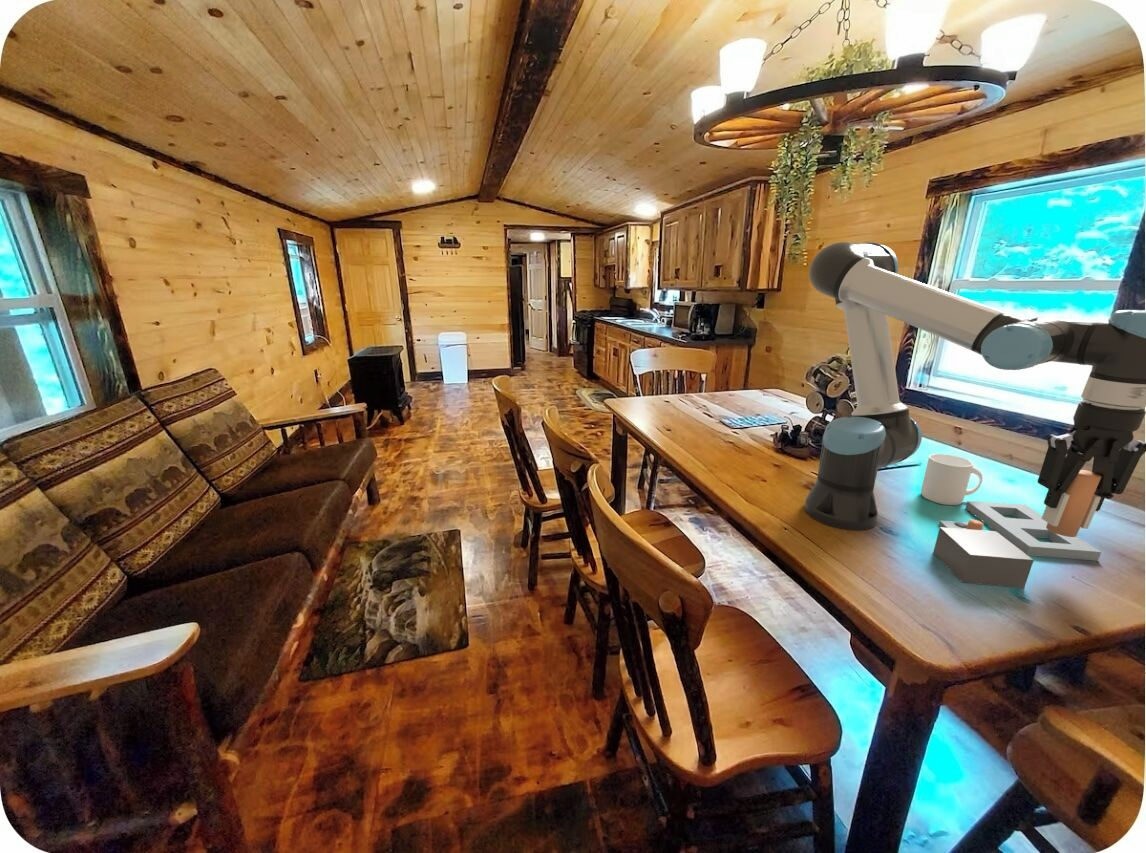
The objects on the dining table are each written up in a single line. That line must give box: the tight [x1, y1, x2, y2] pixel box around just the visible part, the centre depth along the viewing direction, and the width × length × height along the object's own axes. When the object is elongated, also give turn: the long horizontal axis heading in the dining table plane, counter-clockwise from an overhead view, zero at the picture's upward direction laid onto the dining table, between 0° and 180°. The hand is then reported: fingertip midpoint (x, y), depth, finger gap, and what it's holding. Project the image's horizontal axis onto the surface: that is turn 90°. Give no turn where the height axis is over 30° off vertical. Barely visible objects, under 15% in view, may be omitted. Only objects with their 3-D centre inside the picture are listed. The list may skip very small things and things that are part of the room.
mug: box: [920, 453, 983, 506], centre depth 112 cm, size 9×12×11 cm
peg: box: [1046, 469, 1101, 537], centre depth 81 cm, size 4×4×12 cm
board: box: [938, 519, 984, 530], centre depth 97 cm, size 7×7×4 cm
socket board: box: [965, 500, 1102, 562], centre depth 98 cm, size 12×20×2 cm, turn 168°
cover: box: [933, 526, 1035, 589], centre depth 85 cm, size 10×10×6 cm
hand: (1064, 523), depth 83 cm, fingers closed on peg, 4 cm apart
